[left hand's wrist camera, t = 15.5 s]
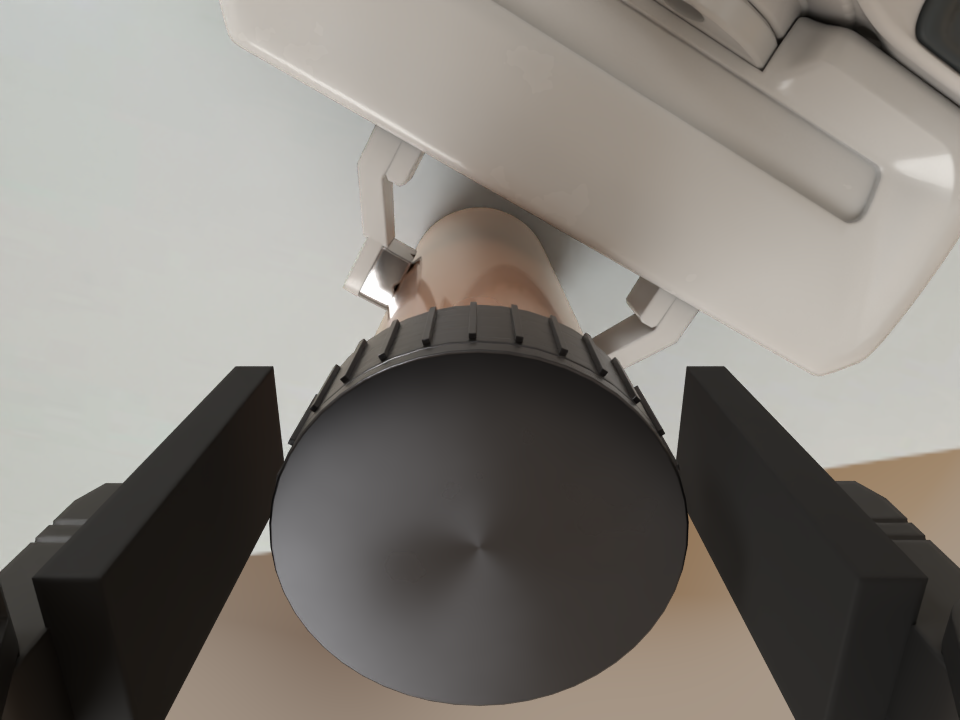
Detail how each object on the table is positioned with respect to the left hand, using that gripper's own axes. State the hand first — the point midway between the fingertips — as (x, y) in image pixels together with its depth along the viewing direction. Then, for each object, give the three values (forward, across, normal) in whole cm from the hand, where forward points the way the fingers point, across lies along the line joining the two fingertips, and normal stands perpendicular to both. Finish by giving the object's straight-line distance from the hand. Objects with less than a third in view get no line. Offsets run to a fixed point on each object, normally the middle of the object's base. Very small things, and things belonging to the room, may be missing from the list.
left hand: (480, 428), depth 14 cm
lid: (-4, 0, 0) cm, 4 cm away
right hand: (+7, 0, -1) cm, 7 cm away
